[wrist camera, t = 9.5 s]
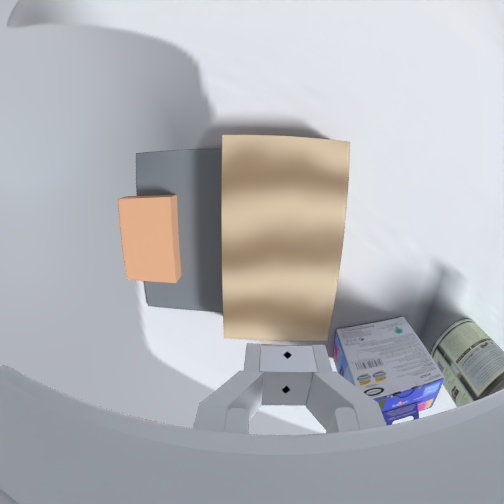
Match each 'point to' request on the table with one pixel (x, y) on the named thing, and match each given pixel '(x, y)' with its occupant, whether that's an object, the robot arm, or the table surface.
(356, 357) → the ink cartridge box
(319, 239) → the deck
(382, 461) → the robot arm
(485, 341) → the coffee can
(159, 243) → the block
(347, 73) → the table surface
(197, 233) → the mat
